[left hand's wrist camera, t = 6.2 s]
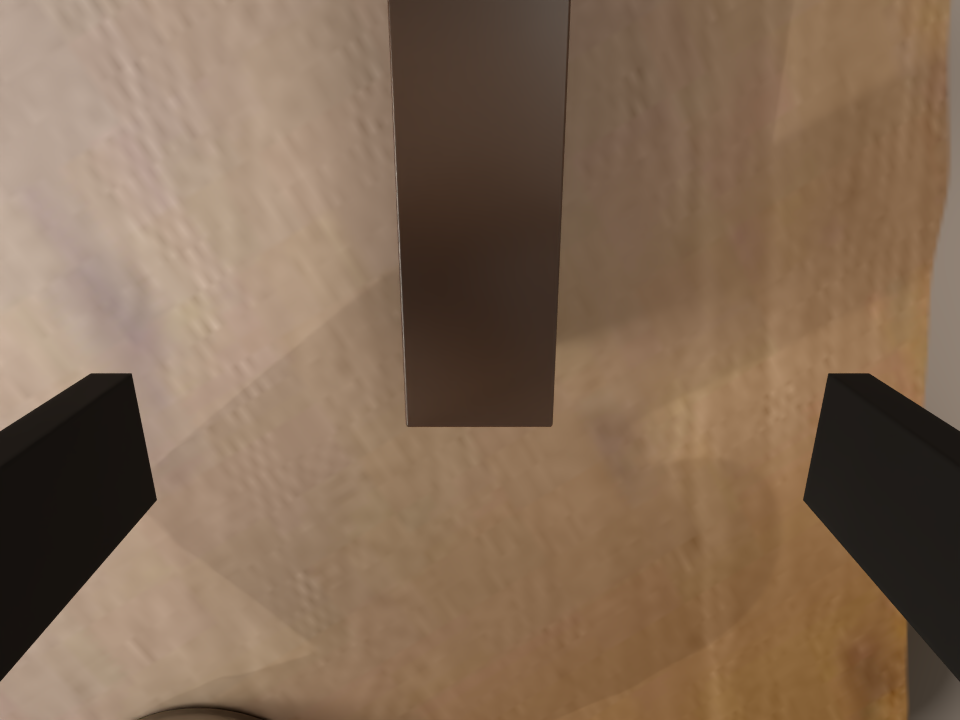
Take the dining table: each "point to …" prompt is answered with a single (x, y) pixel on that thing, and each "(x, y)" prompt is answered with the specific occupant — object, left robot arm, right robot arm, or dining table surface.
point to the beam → (479, 205)
